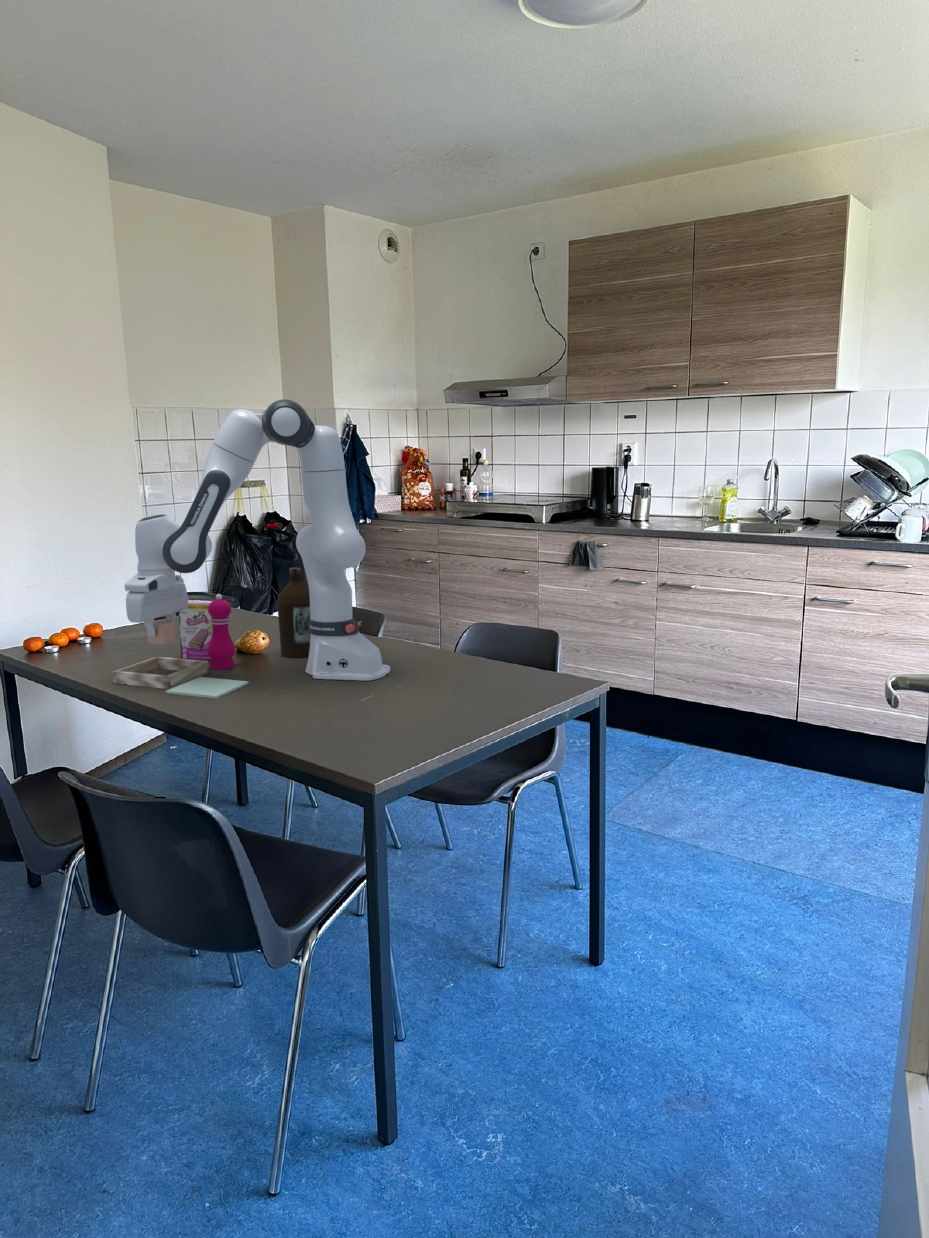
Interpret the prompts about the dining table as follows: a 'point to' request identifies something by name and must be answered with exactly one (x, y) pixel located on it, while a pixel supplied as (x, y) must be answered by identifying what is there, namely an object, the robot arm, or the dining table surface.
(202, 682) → the mat
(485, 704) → the dining table surface
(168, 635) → the cube
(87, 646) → the dining table surface
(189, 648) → the candy bar box
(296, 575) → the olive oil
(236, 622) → the dining table surface
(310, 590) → the robot arm
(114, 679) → the cubby frame
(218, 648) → the pepper mill
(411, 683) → the dining table surface
